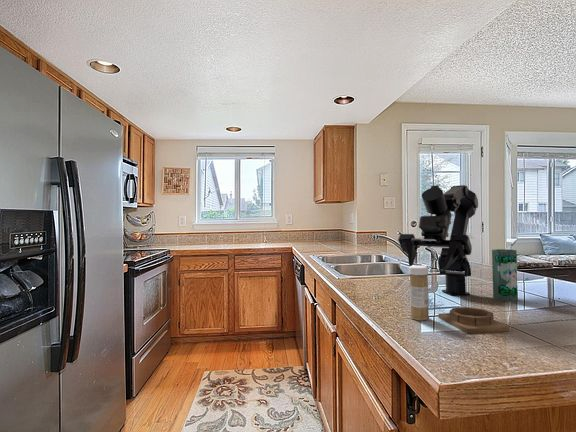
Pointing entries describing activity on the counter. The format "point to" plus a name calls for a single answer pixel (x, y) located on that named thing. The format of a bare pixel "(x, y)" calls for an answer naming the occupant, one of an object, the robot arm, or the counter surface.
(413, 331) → the counter surface
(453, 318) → the holder
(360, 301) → the counter surface
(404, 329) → the counter surface
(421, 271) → the sprinkles bottle
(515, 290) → the can
